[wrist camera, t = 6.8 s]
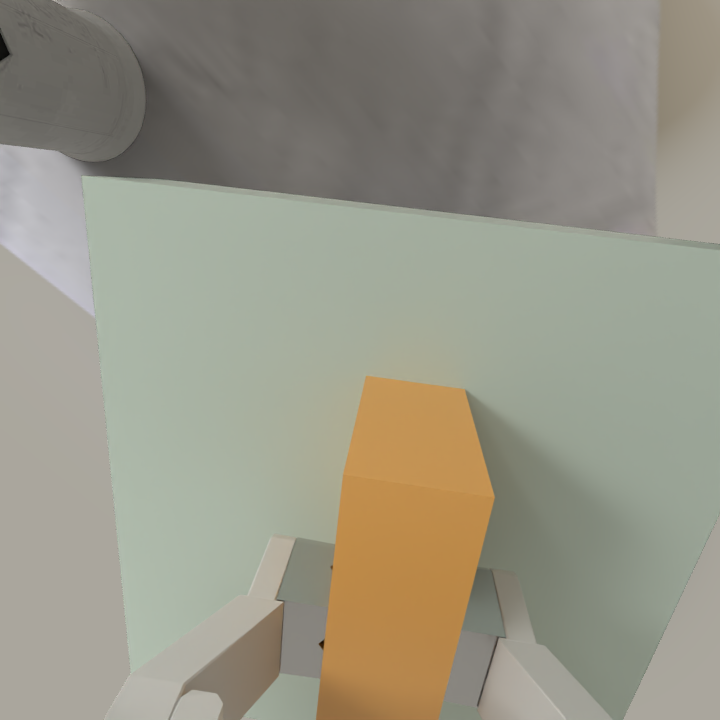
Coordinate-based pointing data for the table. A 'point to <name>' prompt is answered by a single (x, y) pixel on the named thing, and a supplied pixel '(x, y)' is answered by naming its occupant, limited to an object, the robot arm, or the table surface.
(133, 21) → the table surface
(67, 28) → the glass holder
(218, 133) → the table surface
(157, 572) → the lid
